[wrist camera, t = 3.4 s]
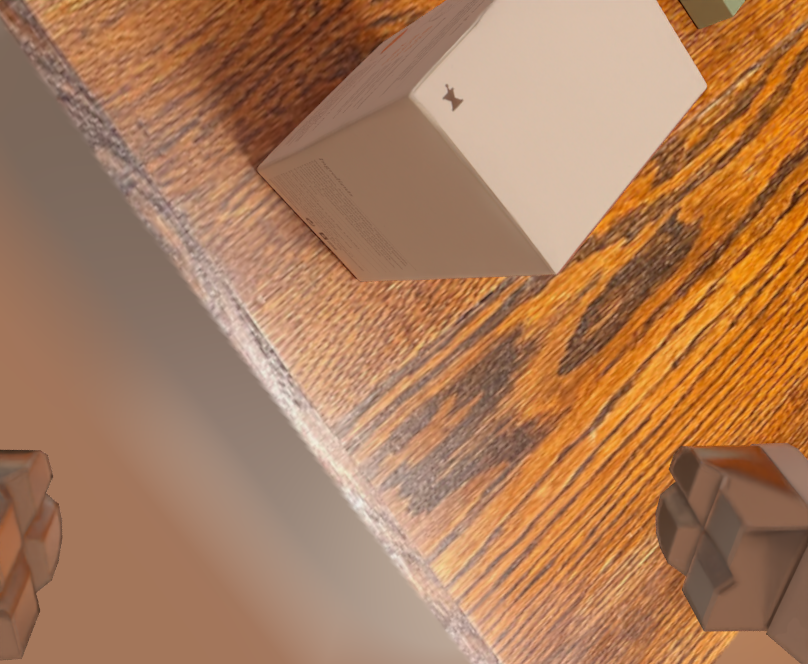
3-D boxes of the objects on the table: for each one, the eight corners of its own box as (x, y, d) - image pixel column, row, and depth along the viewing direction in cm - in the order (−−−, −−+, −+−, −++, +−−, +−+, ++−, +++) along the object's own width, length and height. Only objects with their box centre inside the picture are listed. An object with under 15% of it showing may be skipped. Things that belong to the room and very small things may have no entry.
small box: (359, 285, 31) (557, 284, 20) (251, 169, 29) (402, 90, 17) (476, 155, 34) (716, 85, 22) (383, 38, 31) (597, -110, 20)
